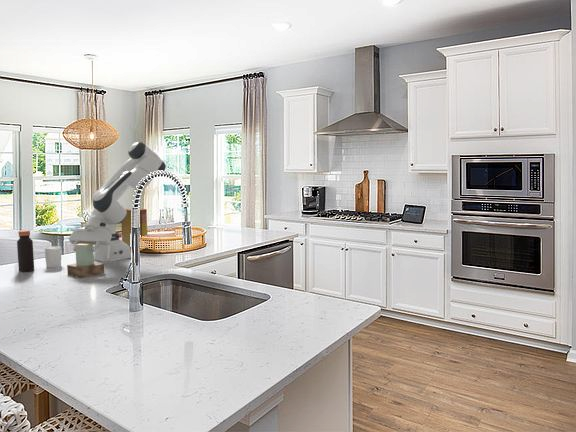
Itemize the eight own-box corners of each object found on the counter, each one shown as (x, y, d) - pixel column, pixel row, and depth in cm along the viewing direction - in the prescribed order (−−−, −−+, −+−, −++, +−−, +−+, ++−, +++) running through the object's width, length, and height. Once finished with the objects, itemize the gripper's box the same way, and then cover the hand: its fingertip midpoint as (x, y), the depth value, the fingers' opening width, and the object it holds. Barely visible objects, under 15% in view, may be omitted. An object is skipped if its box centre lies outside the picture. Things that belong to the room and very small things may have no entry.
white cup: (41, 267, 242) (40, 248, 241) (55, 264, 249) (54, 245, 248) (51, 268, 239) (50, 249, 238) (65, 265, 246) (64, 246, 245)
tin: (83, 263, 229) (82, 242, 228) (94, 263, 228) (93, 243, 227) (76, 265, 223) (75, 244, 222) (87, 265, 223) (86, 245, 222)
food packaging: (148, 247, 300) (147, 208, 297) (142, 250, 290) (141, 210, 288) (128, 247, 301) (126, 208, 298) (121, 250, 292) (120, 210, 289)
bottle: (27, 272, 230) (25, 231, 228) (15, 272, 231) (12, 231, 229) (37, 269, 237) (35, 230, 235) (25, 269, 238) (23, 229, 236)
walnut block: (91, 270, 235) (91, 261, 234) (104, 274, 227) (103, 263, 227) (67, 275, 226) (67, 265, 225) (80, 278, 218) (79, 268, 218)
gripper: (73, 223, 233) (61, 246, 224) (111, 224, 229) (100, 247, 220) (79, 231, 238) (67, 253, 229) (116, 232, 234) (106, 255, 225)
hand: (84, 250), depth 225 cm, fingers open, 8 cm apart
